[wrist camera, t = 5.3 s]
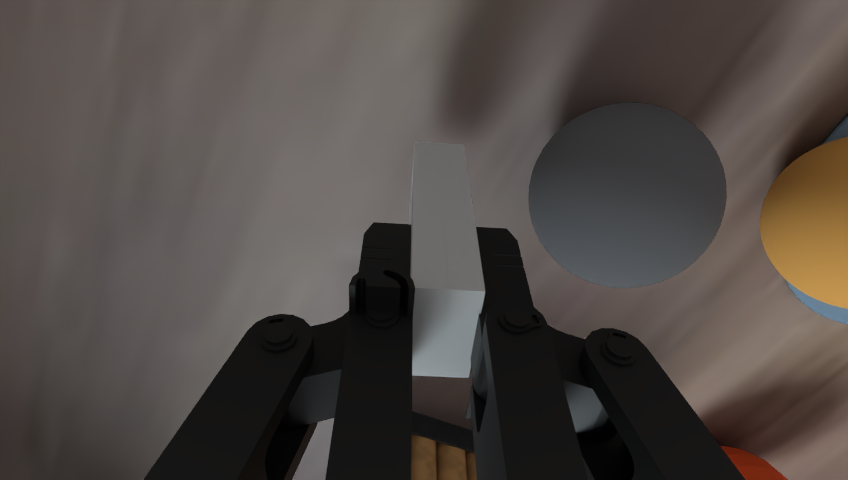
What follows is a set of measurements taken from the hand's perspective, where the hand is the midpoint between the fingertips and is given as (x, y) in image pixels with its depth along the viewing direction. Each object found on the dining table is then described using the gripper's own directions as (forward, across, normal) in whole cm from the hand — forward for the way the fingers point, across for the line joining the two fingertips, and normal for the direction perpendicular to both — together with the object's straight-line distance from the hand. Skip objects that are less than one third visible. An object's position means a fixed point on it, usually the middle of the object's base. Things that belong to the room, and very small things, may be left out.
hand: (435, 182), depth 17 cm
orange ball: (-1, -14, 0) cm, 14 cm away
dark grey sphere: (-1, -6, 0) cm, 6 cm away
